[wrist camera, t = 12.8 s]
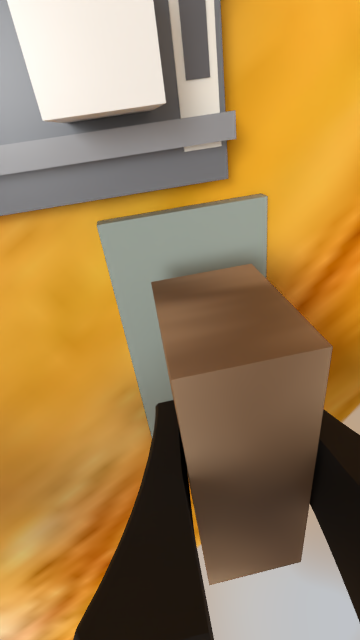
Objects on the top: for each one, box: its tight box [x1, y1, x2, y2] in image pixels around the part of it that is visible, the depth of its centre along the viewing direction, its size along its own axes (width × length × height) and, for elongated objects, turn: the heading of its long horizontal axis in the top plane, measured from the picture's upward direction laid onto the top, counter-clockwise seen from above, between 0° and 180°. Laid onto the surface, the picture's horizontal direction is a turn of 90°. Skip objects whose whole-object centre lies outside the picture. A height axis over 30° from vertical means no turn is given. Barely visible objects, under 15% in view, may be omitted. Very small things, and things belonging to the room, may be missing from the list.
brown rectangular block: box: [151, 264, 333, 585], centre depth 12 cm, size 4×10×5 cm, turn 7°
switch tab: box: [7, 0, 166, 123], centre depth 7 cm, size 2×3×3 cm
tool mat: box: [97, 194, 267, 438], centre depth 16 cm, size 6×13×1 cm, turn 7°
